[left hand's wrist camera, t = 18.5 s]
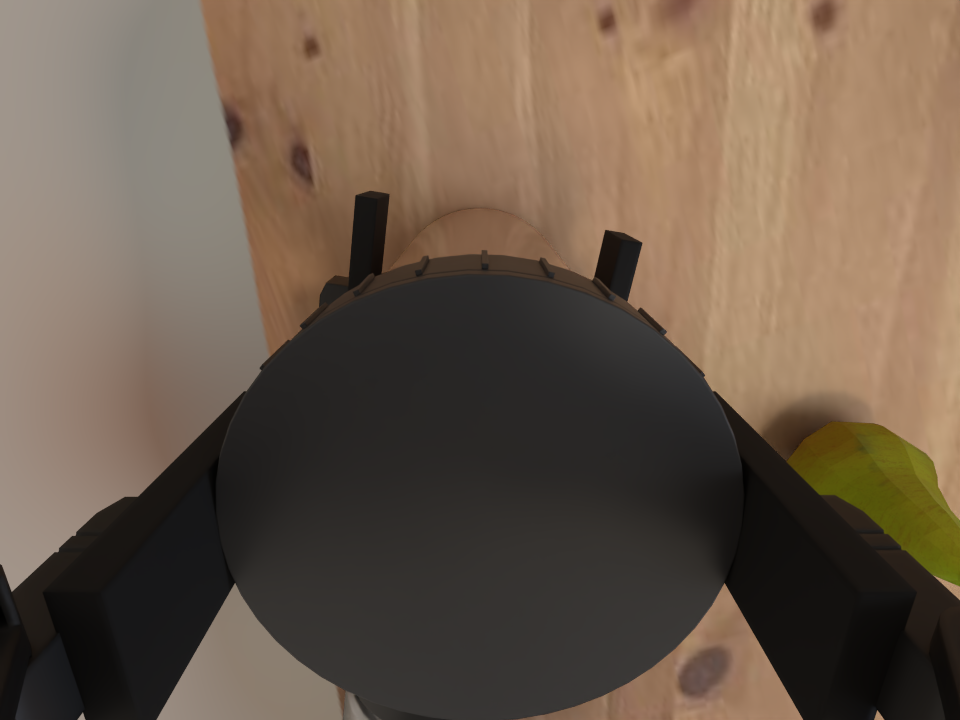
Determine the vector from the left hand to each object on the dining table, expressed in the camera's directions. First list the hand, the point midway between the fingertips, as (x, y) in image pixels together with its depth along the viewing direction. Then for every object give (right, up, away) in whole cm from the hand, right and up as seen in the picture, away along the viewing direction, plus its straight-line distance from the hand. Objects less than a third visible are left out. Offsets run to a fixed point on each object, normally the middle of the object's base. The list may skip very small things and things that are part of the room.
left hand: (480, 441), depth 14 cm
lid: (0, -1, -3) cm, 3 cm away
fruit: (+19, -3, +18) cm, 26 cm away
